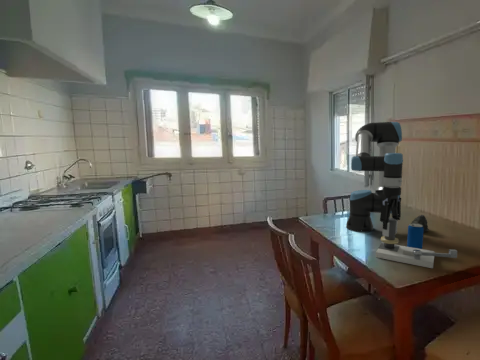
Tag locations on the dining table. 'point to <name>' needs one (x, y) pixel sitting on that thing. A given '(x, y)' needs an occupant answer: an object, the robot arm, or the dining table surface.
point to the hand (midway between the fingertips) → (389, 234)
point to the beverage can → (415, 236)
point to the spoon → (451, 253)
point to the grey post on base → (390, 235)
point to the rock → (421, 222)
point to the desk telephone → (405, 255)
